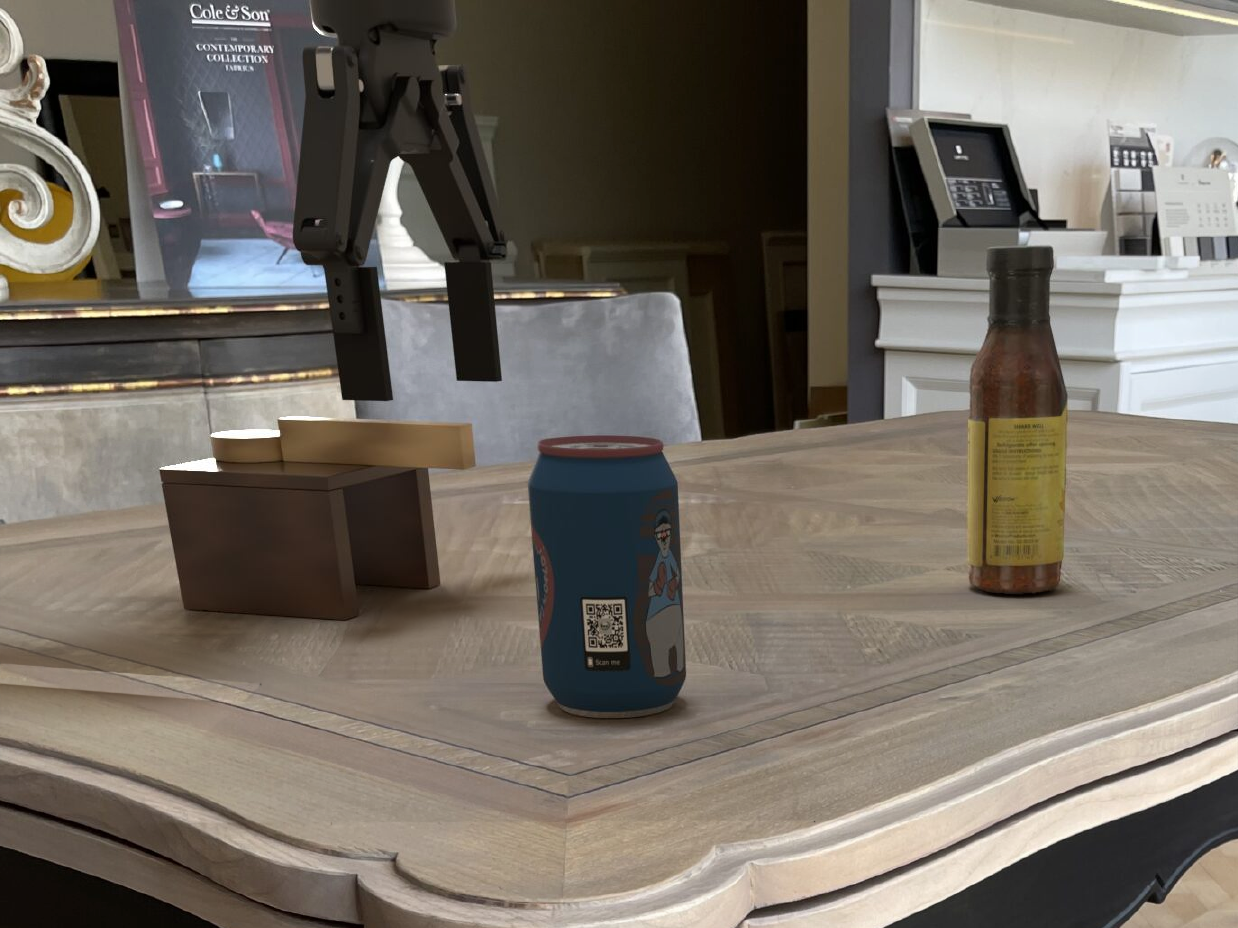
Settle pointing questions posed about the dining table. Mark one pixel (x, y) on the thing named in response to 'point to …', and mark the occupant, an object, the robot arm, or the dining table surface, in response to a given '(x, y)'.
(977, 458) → the sauce bottle
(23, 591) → the dining table surface
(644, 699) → the soda can
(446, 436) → the wooden stepped block
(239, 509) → the shelf
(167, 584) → the dining table surface
